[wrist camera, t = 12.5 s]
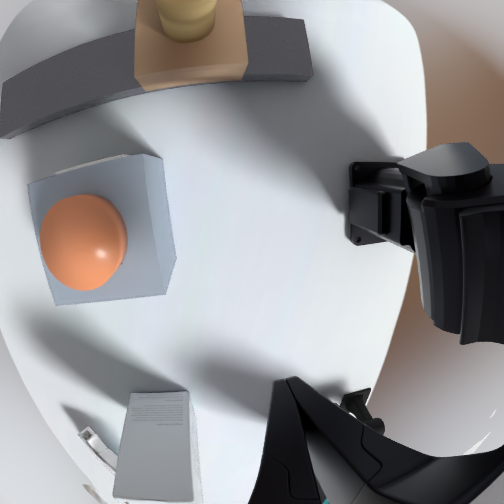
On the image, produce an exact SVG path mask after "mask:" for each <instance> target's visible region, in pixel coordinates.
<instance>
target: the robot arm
mask: <svg viewBox="0 0 504 504" xmlns="http://www.w3.org/2000/svg"><path fill="white" fill-rule="evenodd" d="M355 166H357V168H358V169H357V171H355V169H354V168H355ZM349 176H350V189H349V221H350V223H351V242H352V243H353V244H355V245H356V246H360V245H367V244H373V243H380V242H387V241H389V242H391V243H393V244H395V245H397V246H400V247H402V248H404V249H406V250H408V251H410V252H413V253H415V254H416V256H417V263H418V271H419V280H420V290H421V301H422V304H423V308H424V311H425V312H426V313H427V314H428V315H429V317H430V318H431V319H432V320H433V324H434V326H436V327H438V328H440V329H441V330H443V331H447V332H450V333H454V334H460V344H462V345H465V344H469V343H474V342H495V343H500V344H504V164H489V162H488V160H487V159H486V158H485V157H484V156H483V155H482V154H481V153H480V152H479V151H477V150H476V149H475V148H474V147H473V146H472V145H471V144H470V143H468V142H462V143H449V144H441V145H438V146H436V147H433V148H431V149H429V150H426V151H424V152H421V153H419V154H416V155H414V156H411V157H409V158H407V159H404V160H402V161H399V162H397V163H391V162H352V163H351V164H350V166H349ZM358 236H359V240H358V241H356V238H357V237H358ZM314 473H315V474H314ZM315 475H316V477H317V479H318V481H319V483H320V485H321V487H322V489H323V491H324V493H325V495H326V497H327V499H328V501H329V503H330V504H504V445H503V446H501V447H499V448H498V449H495V450H493V451H489V452H484V453H477V454H470V455H462V456H453V457H434V456H429V455H426V454H423V453H421V452H418V451H416V450H413V449H411V448H409V447H406V446H404V445H402V444H400V443H397V442H395V441H393V440H391V439H389V438H387V437H385V436H383V435H382V434H380V433H378V432H376V431H375V430H373V429H372V428H370V427H369V426H367V425H364V423H362V422H361V421H359V420H358V419H356V418H355V417H353V416H352V415H350V414H349V413H347V412H346V411H344V410H343V409H342V408H340V407H339V406H337V405H336V404H334V403H333V402H332V401H330V400H329V399H327V398H326V397H325V396H323V395H322V394H320V393H319V392H318V391H316V390H315V389H313V388H312V387H311V386H309V385H308V384H307V383H305V382H304V381H303V380H301V379H300V378H299V377H297V376H293V377H289V378H286V379H280V380H275V381H273V386H272V394H271V401H270V408H269V415H268V421H267V428H266V435H265V441H264V447H263V454H262V459H261V464H260V469H259V473H258V477H257V480H256V483H255V486H254V489H253V492H252V494H251V497H250V500H249V502H248V504H322V503H321V500H320V499H321V498H320V494H319V490H318V486H317V482H316V478H315Z"/></svg>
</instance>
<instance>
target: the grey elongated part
mask: <svg viewBox="0 0 504 504" xmlns="http://www.w3.org/2000/svg"><path fill="white" fill-rule="evenodd" d="M80 434H81V435H80ZM80 434H78V436H79V437H80V438H81V439H82V441H83V442H84V443H85V444H86V445H87V446H88V448H89V449H90V451H91V452H92V453H93V454H94V455H95V457H96V458H97V459H98V460H99V461H100V462H101V463H102V464H103V465H104V466H105V467H106V468H107V469H108V470H109V471H110V472H111V473H112V474H113V475H114V476H115V473H116V466H117V459H118V456H117V455H116V454H115V453H113V452H112V451H111V450H110V449H108V448H107V447H106V446H105V444H104V443H103V442H102V441H101V439H100V438H99V437H98V435H97V434H96V433H95V432H94V431H92V430H91V429H90V428H89V427H87V428H85V429H84V430H83V431H81V432H80Z"/></svg>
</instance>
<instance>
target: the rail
mask: <svg viewBox="0 0 504 504" xmlns="http://www.w3.org/2000/svg"><path fill="white" fill-rule="evenodd" d="M243 18H244V27H245V36H246V45H247V54H248V65H247V67H246V70H245V72H244V74H243V77H242V79H241V80H230V81H217V82H206V83H197V84H189V85H181V86H174V87H168V88H162V89H157V90H151V91H146V92H145V90H144V89H143V88H142V86H141V85H140V84H139V82H138V81H137V80H136V78H135V77H134V54H135V29H133V30H129V31H125V32H121V33H118V34H114V35H111V36H107V37H104V38H101V39H98V40H95V41H92V42H89V43H86V44H83V45H80V46H78V47H75V48H73V49H70V50H68V51H65V52H63V53H60V54H58V55H56V56H53V57H51V58H49V59H47V60H45V61H43V62H41V63H39V64H37V65H35V66H33V67H31V68H29V69H27V70H25V71H23V72H21V73H19V74H18V75H16V76H14V77H12V78H11V79H9V80H7V81H6V82H4V83H3V88H2V97H1V108H0V138H1V139H11V138H13V137H15V136H17V135H19V134H21V133H24V132H26V131H28V130H30V129H33V128H35V127H37V126H40V125H42V124H44V123H47V122H49V121H52V120H54V119H57V118H60V117H62V116H65V115H68V114H71V113H74V112H77V111H80V110H83V109H86V108H89V107H93V106H96V105H99V104H103V103H106V102H110V101H114V100H118V99H122V98H126V97H130V96H135V95H139V94H144V93H149V92H154V91H160V90H165V89H172V88H178V87H185V86H193V85H202V84H211V83H223V82H240V81H302V82H306V81H308V80H309V79H310V78H311V77H313V69H312V63H311V57H310V51H309V45H308V39H307V34H306V29H305V24H304V20H302V19H292V18H280V17H259V16H243Z"/></svg>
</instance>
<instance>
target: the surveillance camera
mask: <svg viewBox="0 0 504 504" xmlns="http://www.w3.org/2000/svg"><path fill="white" fill-rule="evenodd" d="M370 391H371V388H369V389H365V390H362V391H358V392H354V393H350V394H346V395H344V397H343V400H342V403H341V406H340V408H342V409H343V410H344V411H346V412H347V413H350V412H351V413H352V414H354V415H355V417H356V418H357V419H358V420H359V421H361V422H362V423H364V425H367V426H369V427H370V428H372V429H373V430H375V431H376V432H378V433H380V434H382V435H383V434H384V432H385V426H384V423H383V421H382V420H381V419H380V418H374V419H373V418H372V416H371V415H370V413H369V411H368V410H367V408H366V406H365V404H366V401H367V399H368V396H369V394H370ZM334 404H336V405H337V406H339V405H338V404H337V403H334ZM314 474H315V473H314ZM315 478H316V482H317V486H318V490H319V494H320V498H321V499H320V500H321V503H322V504H330V503H329V501H328V499H327V497H326V495H325V493H324V491H323V489H322V487H321V485H320V483H319V481H318V479H317V477H316V475H315Z"/></svg>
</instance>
